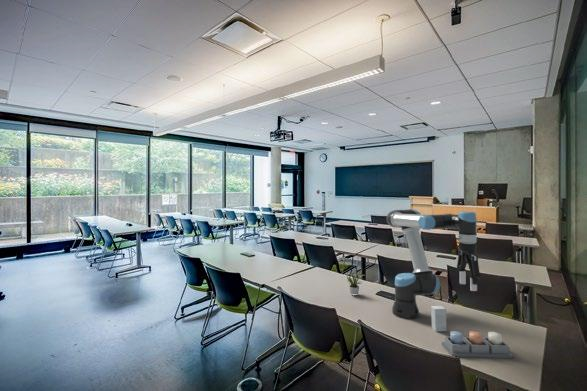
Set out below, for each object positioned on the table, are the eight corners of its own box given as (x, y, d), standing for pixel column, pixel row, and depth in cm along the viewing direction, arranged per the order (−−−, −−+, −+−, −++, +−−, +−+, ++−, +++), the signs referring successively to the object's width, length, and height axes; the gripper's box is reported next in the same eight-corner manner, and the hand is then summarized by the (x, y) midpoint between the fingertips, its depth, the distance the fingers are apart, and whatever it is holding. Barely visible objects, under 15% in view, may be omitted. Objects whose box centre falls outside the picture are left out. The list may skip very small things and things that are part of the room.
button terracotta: (466, 338, 134) (466, 331, 134) (478, 338, 133) (478, 331, 133) (473, 344, 129) (473, 336, 128) (485, 344, 128) (485, 337, 128)
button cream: (485, 339, 133) (485, 331, 133) (497, 339, 133) (497, 331, 133) (492, 344, 128) (492, 337, 128) (504, 345, 128) (504, 337, 128)
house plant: (364, 291, 211) (364, 269, 211) (367, 298, 197) (367, 274, 197) (345, 291, 212) (344, 269, 212) (346, 297, 199) (346, 274, 198)
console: (441, 344, 137) (441, 335, 137) (498, 345, 135) (498, 336, 135) (451, 356, 127) (451, 346, 127) (513, 357, 125) (513, 347, 125)
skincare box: (442, 327, 154) (441, 305, 154) (446, 331, 149) (446, 308, 149) (431, 328, 154) (430, 305, 153) (435, 331, 149) (435, 309, 149)
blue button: (448, 338, 134) (448, 330, 134) (459, 338, 134) (459, 331, 134) (453, 344, 129) (453, 336, 129) (465, 344, 129) (465, 336, 129)
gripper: (449, 238, 153) (449, 280, 154) (472, 246, 131) (472, 295, 132) (463, 238, 153) (464, 280, 153) (489, 246, 131) (489, 295, 131)
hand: (467, 287), depth 142 cm, fingers open, 9 cm apart
